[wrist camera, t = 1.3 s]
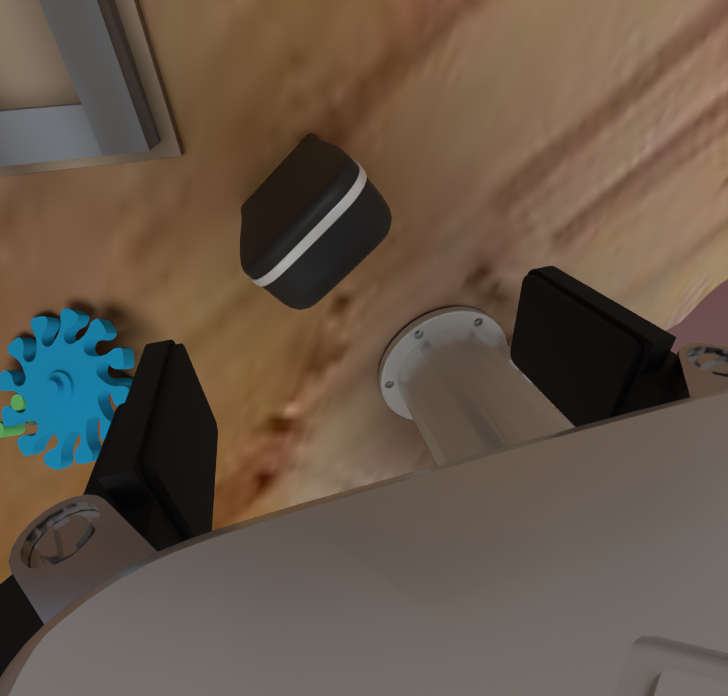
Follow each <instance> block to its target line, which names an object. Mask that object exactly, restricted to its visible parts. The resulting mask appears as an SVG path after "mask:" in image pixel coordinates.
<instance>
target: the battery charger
mask: <svg viewBox="0 0 728 696" xmlns="http://www.w3.org/2000/svg"><path fill="white" fill-rule="evenodd" d="M241 215H242V225H241V236H240V259H241V266H242V268H243V270H244V272H245V273H246V274H247V275H248V276H249V278H250V280H251V281H253V282H254V283H255V284H256V285H258V286H262V287H263V288H264V289H266V290H267V291H268V292H270V293H271V294H272V295H273V296H275V297H276V298H277V299H278V300H280V301H281V302H282V303H284V304H285V305H287V306H289V307H291V308H295V309H299V310H301V309H306V308H310V307H311V306H313V305H315V304H316V303H317V302H318V301H320V300H321V299H322V298H323V297H324V296H325V295H326V294H327V293H328V292H329V291H331V290H332V289H333V288H334V287H335V286H336V285H337V284H338V283H339V282H340V281H341V280H342V279H343V278H345V277H346V276H347V275H348V274H349V273H350V272H351V271H352V270H353V269H354V268H355V267H356V266H357V265H358V264H359V263H360V262H361V261H362V260H363V259H364V258H365V257H366V256H367V255H368V254H369V253H371V252H372V251H373V250H374V249H375V248H376V247H377V246H378V245H379V244H380V242H381V241H382V240H383V239H384V238H385V236H386V235H387V234H388V232H389V229H390V226H391V212H390V209H389V207H388V205H387V203H386V202H385V200H384V198H383V197H382V195H381V194H380V193H379V192H378V190H377V189H376V188H375V187H374V185H373V184H372V183H371V182H370V180H369V179H368V178H367V175H366V172H365V171H364V169H363V168H362V167H361V166H360V164H359V163H358V162H357V161H356V160H354V159H353V158H352V157H351V156H349V155H348V154H346V153H345V152H344V151H343V150H341V149H340V148H338V147H336V146H334V145H332V144H330V143H327V142H324V141H322V140H321V139H319V138H317V136H315V135H314V134H309V135H308V136H307V137H306V138H305V139H304V140H303V141H302V142H301V143H300V144H299V145H298V146H297V147H296V148H295V149H294V150H293V151H292V153H291V154H290V155H289V156H288V157H287V158H286V159H285V160H284V161H283V162H282V163H281V164H280V165H279V167H278V168H277V169H276V170H275V171H274V172H273V173H272V174H271V175H270V176H269V177H268V178H267V180H266V181H265V182H264V183H263V184H262V185H261V186H260V187H259V188H258V189H257V190H256V191H255V193H254V194H253V195H252V196H251V197H250V198H249V199H248V200H247V201H246V202H245V204H244V205H243V206H242V207H241Z"/></svg>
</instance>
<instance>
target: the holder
mask: <svg viewBox="0 0 728 696" xmlns="http://www.w3.org/2000/svg"><path fill="white" fill-rule="evenodd" d="M183 154H184V151H183V148H182V145H181V141H180V138H179V135H178V131H177V128H176V125H175V122H174V118H173V115H172V112H171V108H170V105H169V102H168V98H167V95H166V92H165V89H164V85H163V82H162V79H161V75H160V72H159V69H158V65H157V62H156V59H155V55H154V52H153V49H152V46H151V42H150V39H149V36H148V32H147V29H146V26H145V22H144V19H143V16H142V13H141V9H140V6H139V3H138V0H0V176H8V175H17V174H26V173H35V172H44V171H53V170H62V169H71V168H80V167H89V166H98V165H107V164H116V163H125V162H134V161H143V160H152V159H161V158H170V157H178V156H182V155H183Z"/></svg>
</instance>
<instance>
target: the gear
mask: <svg viewBox="0 0 728 696" xmlns="http://www.w3.org/2000/svg"><path fill="white" fill-rule="evenodd" d="M60 320H61V324H60V322H59V319H58V318H54V317H45V316H39V317H36V318H33V319H32V320H31V328H32V330H33V332H34V334H35V337H36V342H35V340H34V339H33V338H23V337H18V338H16V339H15V340H13V342H12V343H11V344H10V345H9V346H8V352H9V354H10V355H11V356H13V357H15V358H16V359H17V360H18V361H19V362H20V364H21V365H22V367H23V370H24V373H25V375H24V373H23V372H22V371H20V370H4V371H3V372H2V373H1V375H0V390H3V391H7V390H11V391H15V392H17V393H18V394H16V395H14V396H13V397H12V399H11V406H6V407H4V408H3V409H2V420H3V421H1V422H0V438H2V437H8V436H14V435H20V434H22V433H24V431H25V427H26V426H25V423H27V424H28V425H38V432H37V433H35V434H29V435H23V436H21V437H20V438H19V439H18V441H17V443H18V446H19V448H20V450H21V452H22V453H23V454H24V456H28V455H33V454H37V453H41V452H43V451H44V449H45V447H46V444H47V443H48V441H49V439H50V438H51V437H52V436H53V435H55V434H56V436H57V438H58V444H57V446H56V447H55V448H54V449H52V450H50V451H48V452H47V453H46V454H45V457H44V462H45V464H46V465H48V466H49V467H51V468H53V469H56V470H58V469H62V468H65V467H69V466H70V465H71V464H72V462H73V449H74V444H75V441H76V439H77V437H78V436H79V434H80V437H81V442H80V445H79V446H78V448H77V449H76V451H75V461H76V463H79V464H84V463H88V462H92V461H96V460H97V458H98V455H99V453H100V450H101V447H102V446H101V444H100V441H99V438H98V421H99V419H100V422H101V428H100V436H101V439H102V440H103V441H104V440H105V437H106V434H107V432H108V429H109V426H110V424H111V421H112V419H113V416H114V411H113V409H112V407H111V404H110V401H109V394H111V396H112V399H113V402H114V404H115V405H116V406H117V407H118V406H119V405H120V404H122V403H125V400H126V398H127V395H128V392H129V389H130V387H131V384H132V381H133V379H132V378H130V377H124V378H111V377H110V376H109V374H108V367H109V365H110V366H111V367H112V368H114V369H131V368H133V367H134V354H133V349H131V348H114V349H113V350H111V351H110V352H109V353H107V354H106V355H103V356H99V355H98V354H97V353H96V350H95V347H96V344H97V342H98V341H100V340H107V341H110V340H112V339H114V338H115V337H116V335H117V331H116V329H115V327H114V326H113V324H112V323H111V322H110V321H109V320H105V319H95V320H93V321H92V322H91V324H90V326H89V328H88V330H87V332H86V334H85V335H84V336H83V337H82V338H81V339H80V340H78V341H76V333H77V332H78V331H79V330H80V329H82V328H84V327H85V326H86V325H87V324H88V322H89V315H87V314H86V313H85V312H82V311H79V310H74V309H67V308H64V309H63V310H62V312H61V315H60ZM59 327H60V330H59V333H58V336H57V338H56V339H55V341H54V336H55V335H56V333H57V331H58V329H59ZM36 343H37V344H36ZM25 376H26V377H25Z"/></svg>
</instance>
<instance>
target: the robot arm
mask: <svg viewBox="0 0 728 696" xmlns="http://www.w3.org/2000/svg"><path fill="white" fill-rule="evenodd" d="M675 339H676V337H675V336H673V335H671V334H669V333H668V332H666V331H664V330H663V329H661V328H659V327H657V326H656V325H654V324H652V323H651V322H649V321H647V320H645V319H644V318H642V317H640V316H638V315H637V314H635V313H633V312H632V311H630V310H628V309H626V308H625V307H623V306H621V305H620V304H618V303H616V302H614V301H613V300H611V299H609V298H607V297H606V296H604V295H602V294H601V293H599V292H597V291H595V290H594V289H592V288H590V287H589V286H587V285H585V284H583V283H582V282H580V281H578V280H576V279H575V278H573V277H571V276H570V275H568V274H566V273H564V272H563V271H561V270H559V269H558V268H556V267H554V266H547V267H542V268H537V269H532V270H531V271H529V273H528V275H527V276H525V277H524V279H523V282H522V288H521V294H520V299H519V305H518V311H517V317H516V322H515V328H514V334H513V339H512V345H511V348H510V347H508V346H507V342H506V337H505V334H504V332H503V330H502V329H501V327H500V326H499V325H498V324H497V323H496V322H495V321H494V320H493V319H492V318H491V317H490V316H488V315H487V314H486V313H484V312H482V311H480V310H477V309H474V308H469V307H449V308H444V309H439V310H436V311H434V312H431V313H428V314H426V315H424V316H422V317H420V318H419V319H417V320H415V321H413V322H412V323H411V324H410V325H408V326H407V327H406V328H404V329H403V330H402V331H401V332H400V333H399V334H398V335H397V336H396V337H395V339H394V340H393V341H392V342H391V344H390V345H389V347H388V348H387V350H386V351H385V354H384V356H383V358H382V360H381V363H380V368H379V372H378V383H379V387H380V391H381V394H382V396H383V398H384V400H385V402H386V404H387V405H388V406H389V408H390V409H391V410H392V411H394V412H395V413H396V414H398V415H400V416H402V417H404V418H406V419H410V420H414V421H415V423H416V425H417V427H418V429H419V431H420V433H421V435H422V437H423V439H424V441H425V443H426V445H427V447H428V448H429V450H430V452H431V454H432V456H433V458H434V460H435V462H436V464H437V465H436V466H433V467H429V468H425V469H422V470H418V471H415V472H411V473H408V474H404V475H401V476H397V477H393V478H390V479H386V480H383V481H379V482H376V483H372V484H369V485H365V486H362V487H358V488H354V489H351V490H347V491H344V492H340V493H337V494H333V495H330V496H326V497H322V498H319V499H315V500H312V501H308V502H305V503H302V504H298V505H295V506H292V507H288V508H285V509H282V510H278V511H275V512H272V513H268V514H265V515H261V516H258V517H255V518H251V519H248V520H245V521H241V522H238V523H235V524H231V525H228V526H226V527H223V528H220V529H217V530H214V531H212V518H213V502H214V486H215V471H216V455H217V439H218V429H217V424H216V421H215V418H214V416H213V413H212V411H211V409H210V406H209V404H208V401H207V399H206V397H205V394H204V392H203V389H202V387H201V385H200V382H199V380H198V377H197V375H196V373H195V370H194V368H193V365H192V363H191V361H190V358H189V356H188V353H187V351H186V349H185V347H184V345H183V344H182V343H181V344H175V342H174V341H173V340H166V341H161V342H156V343H151V344H147V345H146V346H145V348H144V351H143V354H142V356H141V359H140V362H139V365H138V367H137V370H136V373H135V376H134V378H133V381H132V384H131V387H130V389H129V392H128V395H127V398H126V400H125V403H122V404H120V405H119V406H118V407H117V409H116V411H115V413H114V416H113V419H112V421H111V424H110V426H109V429H108V432H107V434H106V437H105V440H104V442H103V445H102V447H101V450H100V453H99V455H98V458H97V460H96V463H95V466H94V468H93V471H92V474H91V476H90V479H89V481H88V484H87V487H86V489H85V492H84V495H80V496H75V497H72V498H69V499H67V500H64V501H62V502H59V503H57V504H56V505H54V506H52V507H51V508H49V509H47V510H46V511H44V512H43V513H41V514H40V515H39V516H38V517H37V518H35V519H34V520H33V521H32V522H31V523H30V524H29V525H28V526H27V527H26V528H25V529H24V530H23V532H22V533H21V534H20V535H19V536H18V538H17V540H16V542H15V543H14V545H13V547H12V549H11V552H10V557H9V561H8V562H9V566H10V570H11V572H12V575H11V576H10V577H9V578H7V579H6V580H5V581H4V582H3V583H1V584H0V696H728V348H727V347H724V346H720V345H715V344H709V343H690V344H687V345H684V346H682V347H681V348H680V349H679V351H678V353H677V355H676V354H675V353H673V352H671V351H670V350H671V348H672V345H673V343H674V341H675ZM533 385H535V386H536V387H537V388H538V389H539V390H540V391H541V392H542V393H543V394H544V395H545V396H546V397H547V398H548V399H549V400H550V401H551V402H552V403H553V404H554V405H555V406H556V407H557V408H558V409H559V410H560V411H561V412H562V414H563V415H564V416H566V418H567V419H568V420H569V421H570V422H571V423H572V424H573V425H574V426H575V428H574V427H573V426H572V425H571V424H570V423H569V422H568V421H567V420H566V419H565V418H564V417H563V416H562V415H561V414H560V413H559V412H558V411H557V410H556V409H555V408H554V407H553V406H552V405H551V404H550V403H549V402H548V401H547V400H546V398H545V397H544V396H543V395H542V394H541V393H540V392H539V391H538V390H537V389H536V388H535V387H534V386H533Z"/></svg>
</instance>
